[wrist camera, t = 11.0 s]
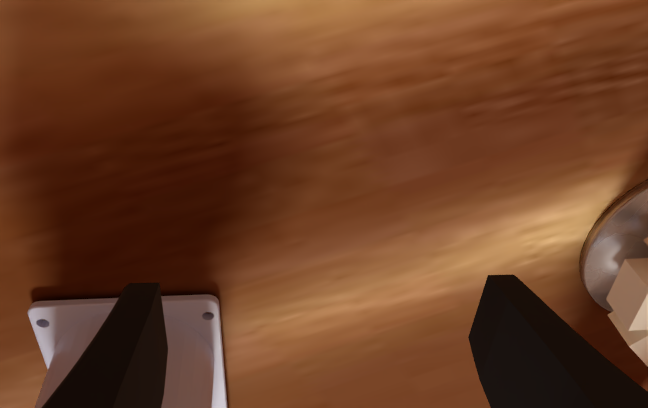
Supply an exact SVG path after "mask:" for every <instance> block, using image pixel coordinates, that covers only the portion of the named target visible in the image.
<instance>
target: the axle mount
mask: <svg viewBox="0 0 648 408" xmlns="http://www.w3.org/2000/svg"><path fill="white" fill-rule="evenodd" d="M647 237H648V180H646V181H644V182H643V183H641V184H639V185H638V186H636V187H634V188H633V189H632V190H630V191H629V192H628V193H626V194H625V195H623V196H622V197H621V198H620V199H619V200H617V201H616V202H615V203H614V204H613V205H612V206H611V207H610V208H609V209H608V210H607V211H606V212H605V213H604V214H603V215H602V216H601V218H600V219H599V220H598V221H597V223H596V224H595V225H594V227H593V228H592V230H591V232H590V233H589V235H588V237H587V239H586V241H585V243H584V246H583V249H582V252H581V256H580V262H579V267H580V276H581V280H582V282H583V284H584V286H585V288H586V289H587V291H588V292H589V294H590V295H591V296H592V298H593V299H594V301H595V302H597V303H598V304H599V305H600V306H601V307H603V308H605V309H606V310H608V311H611V312H613V311H614V310H613V308H612V307H611V306H610V304H609V303H608V301H607V300H606V298H607V296H608V294H609V292H610V290H611V288H612V286H613V283H614V281H615V279H616V277H617V275H618V273H619V271H620V268H621V266H622V264H623V262H624V260H625V259H638V258H648V246H647V244H646V243H645V242H644V239H646V238H647Z"/></svg>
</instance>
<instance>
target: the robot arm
mask: <svg viewBox="0 0 648 408" xmlns="http://www.w3.org/2000/svg"><path fill="white" fill-rule="evenodd" d="M205 312H211V313H210V314H206V313H205ZM28 316H29V319H30V322H31V324H32V327H33V330H34V333H35V336H36V338H37V341H38V344H39V347H40V349H41V352H42V355H43V358H44V361H45V363H46V366H47V369H48V371H47V374H46V377H45V380H44V382H43V385H42V388H41V391H40V394H39V397H38V399H37V402H36V405H35V408H228V406H227V394H226V381H225V369H224V357H223V345H222V332H221V320H220V308H219V301H218V299H217V298H216V297H215V296H213V295H208V294H204V295H179V296H161V291H160V283H130V284H128V285H127V286H126V287H125V288H124V290H123V291H122V293H121V295H120V297H119V298H103V299H77V300H52V301H37V302H34V303H32V304H31V306H30V308H29V310H28ZM42 319H45V320H47V321H44V320H42ZM469 341H470V345H471V349H472V353H473V357H474V361H475V365H476V368H477V372H478V375H479V379H480V381H481V384H482V386H483V389H484V392H485V394H486V396H487V399H488V401H489V404H490V406H491V408H648V392H647V391H646V390H645V389H643V388H642V387H641V386H640V385H638V384H637V383H636V382H634V381H633V380H632V379H631V378H629V377H628V376H627V375H626V374H624V373H623V372H622V371H621V370H620V369H618V368H617V367H616V366H615V365H613V364H612V363H611V362H610V361H609V360H607V359H606V358H605V357H604V356H603V355H601V354H600V353H599V352H598V351H597V350H596V349H594V348H593V347H592V346H591V345H590V344H589V343H588V342H587V341H585V340H584V339H583V338H582V337H581V336H580V335H579V334H578V333H576V332H575V331H574V330H573V329H572V328H571V327H570V326H569V325H568V324H567V323H566V322H564V321H563V320H562V319H561V318H560V317H559V316H558V315H557V314H556V313H555V312H554V311H553V310H552V309H550V308H549V307H548V306H547V305H546V304H545V303H544V302H543V301H542V300H541V299H540V298H539V297H538V296H537V295H536V294H535V293H533V292H532V291H531V290H530V289H529V288H528V287H527V286H526V285H525V284H524V283H523V282H522V281H520V280H519V279H518V278H517V277H516V276H515V275H488V277H487V280H486V284H485V287H484V290H483V293H482V296H481V299H480V303H479V306H478V309H477V312H476V315H475V318H474V322H473V325H472V328H471V331H470V334H469Z"/></svg>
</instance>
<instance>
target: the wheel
mask: <svg viewBox="0 0 648 408" xmlns="http://www.w3.org/2000/svg"><path fill="white" fill-rule="evenodd" d="M644 242H645V243H646V244H647V246H648V237H647V238H646V239H644ZM606 300H607V301H608V303H609V304H610V306H611V307H612V308H613V310H614V311H613V312H611V313H609V314H608V317H609V318H610V320H611V321H612V323H613V324H614V325H615V327H616V328H617V330H618V331H619V333H620V334H621V336H622V337H623V339H624V340H625V341H626V343H627V344H628V346H629V347H630V348H631V349H632V350H633V351H634V352H635V353H636V355H637V356H638V357H639V358H640V359H641V360H642V361H643V362H644V363H645V364H646V365H647V366H648V258H638V259H625V260H624V262H623V264H622V266H621V268H620V271H619V273H618V275H617V277H616V279H615V281H614V283H613V286H612V288H611V290H610V292H609V294H608V296H607V298H606Z"/></svg>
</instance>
